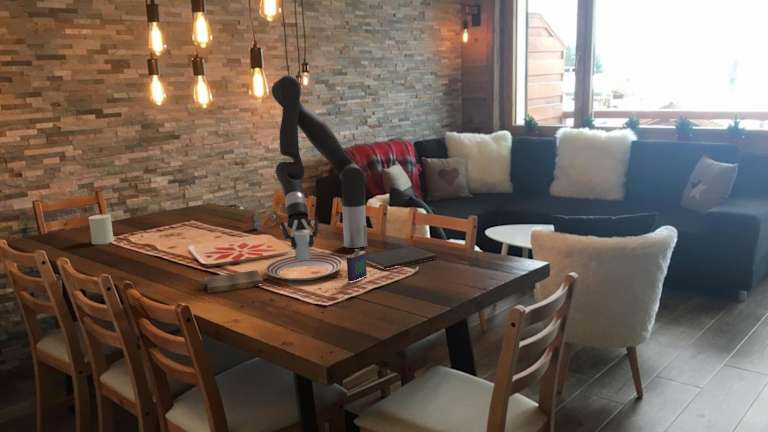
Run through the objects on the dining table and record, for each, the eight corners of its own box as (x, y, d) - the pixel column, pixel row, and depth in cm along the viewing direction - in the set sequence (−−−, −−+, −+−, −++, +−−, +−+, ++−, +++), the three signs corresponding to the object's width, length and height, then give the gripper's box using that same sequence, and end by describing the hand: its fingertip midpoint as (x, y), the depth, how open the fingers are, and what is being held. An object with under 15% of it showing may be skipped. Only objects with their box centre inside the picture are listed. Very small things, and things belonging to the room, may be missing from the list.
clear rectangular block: (254, 231, 297) (253, 213, 295) (249, 230, 299) (248, 212, 297) (278, 224, 309) (277, 207, 307) (273, 224, 311) (272, 206, 309)
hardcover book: (361, 262, 243) (361, 256, 243) (412, 251, 255) (412, 246, 255) (384, 272, 230) (384, 266, 229) (436, 260, 242) (436, 254, 241)
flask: (362, 275, 226) (361, 245, 223) (369, 276, 224) (368, 246, 221) (345, 282, 218) (344, 251, 216) (352, 284, 217) (351, 253, 214)
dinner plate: (322, 288, 214) (321, 278, 213) (251, 281, 224) (250, 272, 223) (355, 265, 239) (355, 256, 238) (290, 260, 248) (289, 251, 248)
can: (118, 239, 292) (114, 213, 289) (107, 244, 283) (103, 217, 280) (98, 239, 293) (95, 213, 290) (87, 244, 284) (83, 217, 281)
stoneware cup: (310, 255, 233) (309, 228, 231) (310, 260, 228) (309, 232, 225) (295, 256, 232) (293, 229, 230) (294, 261, 227) (293, 233, 225)
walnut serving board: (257, 275, 230) (256, 270, 229) (263, 285, 219) (263, 279, 218) (198, 283, 223) (197, 278, 222) (201, 294, 212) (201, 288, 211)
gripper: (276, 202, 231) (283, 243, 222) (316, 199, 235) (324, 239, 226) (276, 214, 237) (282, 254, 228) (314, 211, 241) (322, 250, 232)
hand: (303, 246), depth 227 cm, fingers closed on stoneware cup, 5 cm apart
